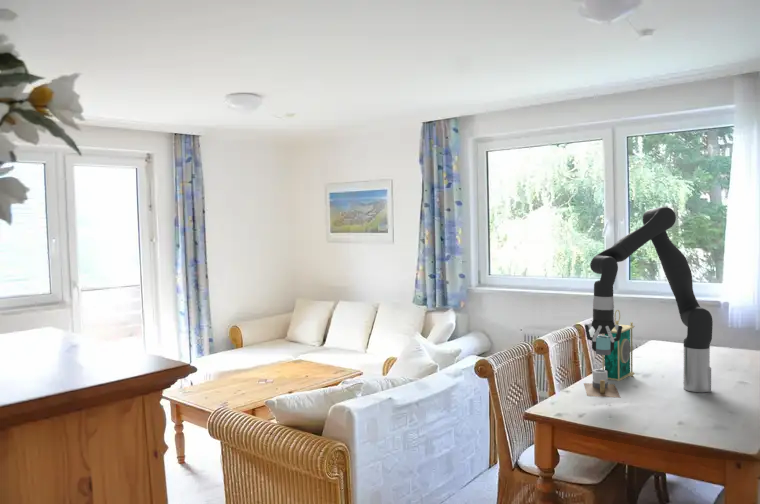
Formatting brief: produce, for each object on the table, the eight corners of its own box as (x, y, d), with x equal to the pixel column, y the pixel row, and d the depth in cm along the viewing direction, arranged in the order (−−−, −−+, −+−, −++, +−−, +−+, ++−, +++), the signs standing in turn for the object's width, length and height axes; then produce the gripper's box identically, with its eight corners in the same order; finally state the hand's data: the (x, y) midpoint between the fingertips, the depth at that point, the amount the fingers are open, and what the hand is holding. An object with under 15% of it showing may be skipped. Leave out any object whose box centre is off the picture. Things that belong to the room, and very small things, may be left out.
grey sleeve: (603, 384, 243) (602, 368, 242) (609, 388, 238) (609, 372, 237) (590, 385, 242) (590, 369, 242) (597, 389, 237) (597, 373, 236)
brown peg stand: (614, 388, 243) (614, 372, 242) (620, 401, 225) (620, 384, 225) (583, 386, 246) (583, 371, 245) (587, 399, 228) (587, 383, 228)
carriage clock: (620, 384, 247) (620, 313, 246) (599, 381, 253) (599, 311, 252) (635, 376, 260) (635, 308, 258) (614, 373, 266) (614, 306, 264)
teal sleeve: (609, 352, 232) (609, 335, 232) (611, 355, 227) (611, 338, 227) (594, 351, 234) (595, 335, 233) (596, 354, 228) (596, 337, 228)
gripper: (621, 306, 231) (621, 350, 232) (583, 305, 235) (582, 348, 236) (624, 309, 224) (624, 354, 225) (584, 308, 228) (583, 352, 228)
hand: (602, 350), depth 230 cm, fingers closed on teal sleeve, 5 cm apart
